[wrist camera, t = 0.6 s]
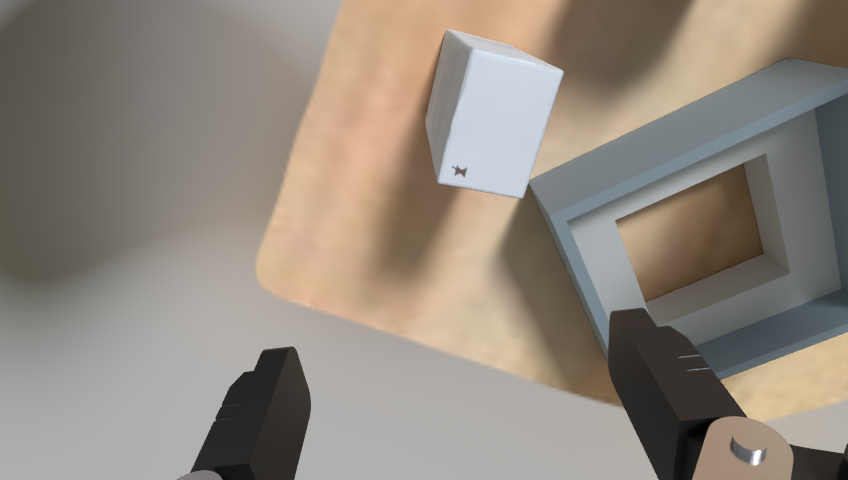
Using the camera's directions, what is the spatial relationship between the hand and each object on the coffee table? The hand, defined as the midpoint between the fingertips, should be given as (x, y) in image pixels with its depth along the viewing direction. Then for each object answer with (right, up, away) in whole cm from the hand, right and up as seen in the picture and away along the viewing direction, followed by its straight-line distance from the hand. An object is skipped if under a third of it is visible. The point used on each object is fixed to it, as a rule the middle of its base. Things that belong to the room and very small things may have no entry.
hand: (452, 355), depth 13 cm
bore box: (+19, +4, +25) cm, 31 cm away
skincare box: (+2, +13, +20) cm, 24 cm away
